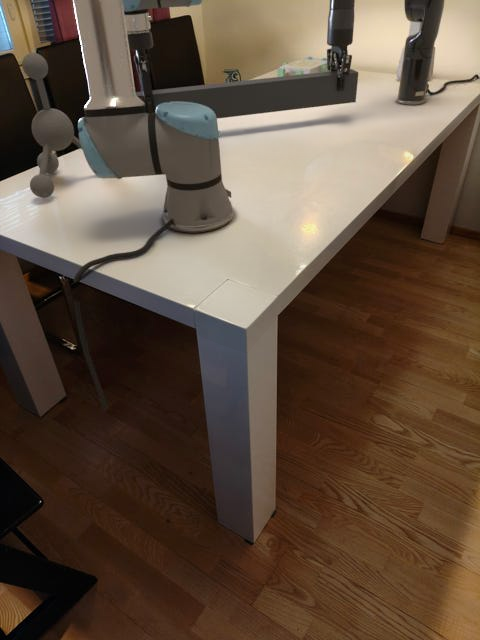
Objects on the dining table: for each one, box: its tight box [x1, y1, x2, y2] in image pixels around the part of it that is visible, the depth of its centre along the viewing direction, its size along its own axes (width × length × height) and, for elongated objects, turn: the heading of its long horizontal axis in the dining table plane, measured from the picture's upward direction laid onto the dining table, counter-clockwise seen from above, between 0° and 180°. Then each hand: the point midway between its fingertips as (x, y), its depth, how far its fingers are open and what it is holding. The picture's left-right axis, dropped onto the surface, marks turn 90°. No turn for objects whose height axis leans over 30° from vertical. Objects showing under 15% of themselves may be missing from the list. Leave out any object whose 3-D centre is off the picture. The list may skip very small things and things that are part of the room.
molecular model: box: [21, 52, 82, 199], centre depth 119 cm, size 24×22×30 cm
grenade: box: [221, 68, 242, 83], centre depth 184 cm, size 7×6×10 cm
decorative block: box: [276, 56, 329, 77], centre depth 205 cm, size 26×6×20 cm
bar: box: [135, 68, 359, 120], centre depth 148 cm, size 70×5×9 cm, turn 104°
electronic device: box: [396, 21, 436, 81], centre depth 188 cm, size 12×8×30 cm, turn 105°
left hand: (151, 121), depth 145 cm, fingers closed on bar, 5 cm apart
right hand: (336, 88), depth 153 cm, fingers closed on bar, 5 cm apart
